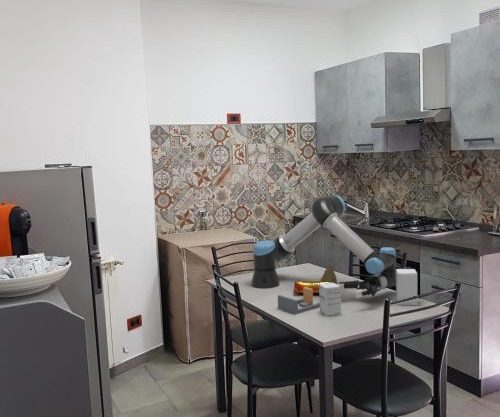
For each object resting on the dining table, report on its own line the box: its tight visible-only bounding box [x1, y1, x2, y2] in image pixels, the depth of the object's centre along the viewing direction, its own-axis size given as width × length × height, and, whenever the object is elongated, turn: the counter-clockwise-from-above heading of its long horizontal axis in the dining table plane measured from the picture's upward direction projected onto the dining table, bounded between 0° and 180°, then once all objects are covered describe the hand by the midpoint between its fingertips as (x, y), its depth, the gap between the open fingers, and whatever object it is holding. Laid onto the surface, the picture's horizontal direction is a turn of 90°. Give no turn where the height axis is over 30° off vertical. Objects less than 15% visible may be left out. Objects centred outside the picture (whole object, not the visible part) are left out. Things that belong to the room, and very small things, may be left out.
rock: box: [319, 265, 338, 285], centre depth 273 cm, size 11×9×10 cm
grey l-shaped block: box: [277, 294, 320, 315], centre depth 239 cm, size 12×20×6 cm, turn 127°
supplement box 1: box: [318, 283, 342, 317], centre depth 229 cm, size 7×7×13 cm
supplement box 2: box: [395, 268, 418, 306], centre depth 239 cm, size 9×9×15 cm
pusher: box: [298, 286, 314, 308], centre depth 241 cm, size 5×5×8 cm
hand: (344, 292), depth 234 cm, fingers open, 13 cm apart
